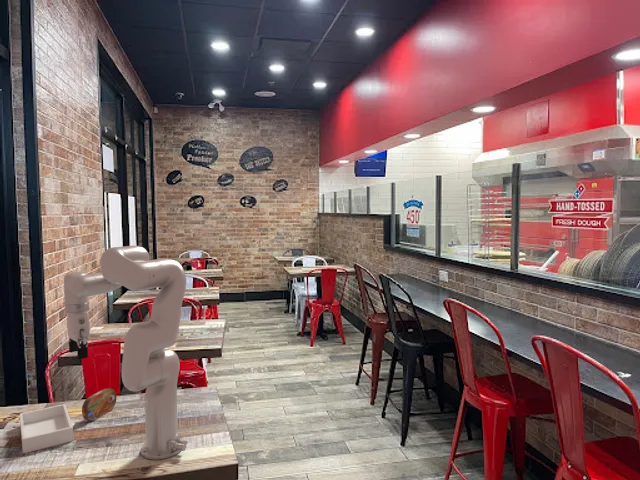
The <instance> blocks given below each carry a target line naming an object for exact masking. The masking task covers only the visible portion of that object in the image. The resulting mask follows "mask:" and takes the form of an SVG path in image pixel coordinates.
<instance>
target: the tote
mask: <svg viewBox="0 0 640 480" xmlns="http://www.w3.org/2000/svg"><path fill="white" fill-rule="evenodd" d="M19 424H20V437H21V447H22V448H21V449H22V454H27V453H30V452H31V453H32V452H34V451H38V450H43V449H47V448H50V447H54V446H59V445H62V444H66V443H70V442H74V441H75V440H74V426H73V423H72V420H71V418H70V414H69V410H68V408H67V405H66V404H65V403H63V404H58V405H53V406H49V407H45V408H40V409H35V410H31V411H25V412H21V413H19Z"/></svg>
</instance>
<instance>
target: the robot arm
mask: <svg viewBox="0 0 640 480" xmlns="http://www.w3.org/2000/svg"><path fill="white" fill-rule="evenodd" d="M99 265H100V271H101V272H94V273H88V274H87V273H85V272H83V271H81V272H80V271H79V272H77V271H76V272H69V273H65V275H64V277H63V292H64V294H63V295H64V299H63V300H64V313H65V314H67V318H66V319H67V326H66V327H67V335H68V351H69V353H76V352H77V359H78V360H83V359H87V358H88V357H89V350H88V349H89V347H88V346H89V344H88V340H90V339H91V334H90V333H91V332H90V331H91V330H90V320H89V314H88V312H89V311H90V307H89V305H90V304H89V302H90V301H89V298H90V297H92V296H97V295H98V296H99V295H102V294H103V295H104V294H108V293H112V292H113V291H116V290H117V289H119V288H121V287H122V286H123V287H124V288H126V289H128V290H130V291H132V292H133V291H134V292H140V291H141V292H143V291H146V290H152V289H156V288H160V290H159V292H157V294H156V296H155V298H154V300H153V302H152V306H151V313H150V314H151V315H150V317H149V319H148V320H147V321H143V322H140V323H139V322H138V323H137V324H134V325H132V326H131V327H130V328H129V329H128V330H127V332H126V334H125V337H124V343H123V352H122V360H121V380H122V384H123V386H124V387H125V389H127V390H128V391H129V392H139V391H143V390H145V395H144V415H145V418H144V419H145V421H144V422H145V443H144V444H142V446H141V448H140V454H141V456H142V457H143V458H145V459H148V460H156V461H158V460H163V459H164V460H165V459H168V458H171V457H174V456H176V455H178V454H179V453H181V451H182V452H185V450H186V449H187V444H188V441H187V440H186V439H185V440H184V439H182V435H181V433H179V427H178V426H179V424H178V423H179V422H178V418H179V417H178V379H179V372H180V358H179V356H178V354H177V353H176V352H175V351H174V350H172V349H169V348H171V347H172V346H174V345H175V344H176V343H177V340H178V338H179V337H178V336H179V330H180V323H181V314H182V306H183V301H184V297H185V293H186V289H187V275H186V271H185V270H184V268H183V266H182V264H181V263H180V262H178V261H177V260H174V259H171V258H156V259H150V254H149V252H148V251H147V249H146V248H145V247H142V246H140V245H126V246H116V247H115V246H114V247H110V248H107V249H106V250H105V251H104V252H102V254H101V256H100V259H99Z"/></svg>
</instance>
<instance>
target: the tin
mask: <svg viewBox="0 0 640 480" xmlns="http://www.w3.org/2000/svg"><path fill="white" fill-rule="evenodd" d="M116 402H117V393H116V391H115V389H113V388H103V389H101V390H100V391H98V392H96V393H94V394H92V395H90V396H88V397H87V398H86V399H85V400H84V401H83V404H82V406H81V413H82V414H81V415H82V418H84V420H87V421H92V422H93V421H94V422H95V421H97V420H98V419H100V418H101V417H104V416H105V415H106V414H108V413H110V412H111V411H112V410H113V409H114V408H115V406H116Z"/></svg>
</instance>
